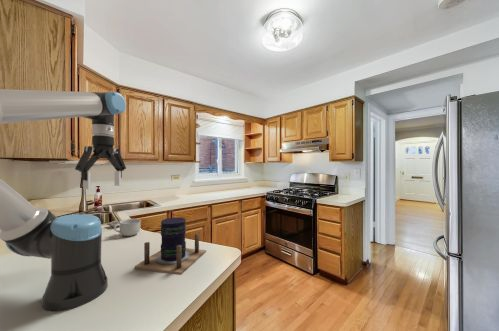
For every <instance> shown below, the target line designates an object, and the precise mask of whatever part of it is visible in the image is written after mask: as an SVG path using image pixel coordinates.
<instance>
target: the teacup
mask: <svg viewBox="0 0 499 331" xmlns="http://www.w3.org/2000/svg"><path fill="white" fill-rule="evenodd" d="M119 222H120V224H116V225H115V226H114V227H113V230H114V231H115V232H116V233H119V235H120V234H121V235H123V237H133V236H135V235H137V233H139V232H140V231H141V223H142V220H141V219H140V218H126V219H122V220H120V221H119ZM117 227H119V229H117Z"/></svg>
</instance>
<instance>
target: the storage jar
mask: <svg viewBox="0 0 499 331" xmlns="http://www.w3.org/2000/svg"><path fill="white" fill-rule="evenodd" d="M186 222H187V221H186V218H184V217H170V218H169V217H168V218H165V219H162V220H161V221H160V236H161V244H160V250H161V260H163V261H167V262H171V261H176V253H177V246H178V245H181V246H182V258H184V257H185V255H186V253H185V251H186V248H187V247H186V246H187V243H186V242H187V241H186V233H187V225H186Z"/></svg>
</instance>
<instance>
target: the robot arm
mask: <svg viewBox="0 0 499 331" xmlns="http://www.w3.org/2000/svg"><path fill="white" fill-rule="evenodd" d="M126 107H127V103H126V99H125V97H124V96H123V95H122V94H121V93H119V92H117V91H103V92H102V91H100V92H98V91H97V92H95V91H93V92H92V91H73V90H72V91H71V90H70V91H63V90H35V89H6V88H5V89H4V88H0V125H2V124H13V123H14V124H15V123H24V122H25V123H26V122H37V121H47V120H49V121H50V120H60V119H72V118H84V119H89V120H91V134H92V136H91V145H92V146H91V145H88V146H87V145H85V146H84V149H83V153H82V154H81V156H80V159H79V160H78V162H77V163H76V166H75V168H74V169H75V170H76V171H78V172H79V173H80V179H81V181H82V189H83V190H91V171H90V170H91V168H92V167H93V166H94V165H95V164H96V162H97V161H98V160H99V159H106V160H107V161H109V162H110V164H111V165H112V167H113V168H114V169H115V170H114V186H122V177H123V171H125V170H126V169H127V166H126V164H125V162H124V159H123V157H122V155H121V148H114V146H115V137H114V136H115V115H118V114H123V113H124V112H125V110H126V109H127V108H126ZM102 233H103V228H102V221H101V219H100V218H99V217H98V216H97V215H93V214H89V213H88V214H87V213H82V214H81V213H80V214H79V213H75V214H67V215H66V214H65V215H62V216H58V217H57V216H56V215H55V214H54V213H52V211H50V210H49V209H48V208H47V207H44V206H38V207H37V206H36V207H35V206H34V205H33V204H32V203H30V202H29V201H28V200H27V199H26V198H25V197H23V196H22V195H21V194H20V193H19V192H17V191H16V190H15V189H14V188H13V187H11V186H10V185H9V184H7V183H6V182H5V181H4V180H3V179H1V178H0V240H1V241H3V242H4V243H5V246H6V247H7V249H8V250H10V251H11V252H13V253H14V254H17V255H19V256H23V257H33V258H34V257H35V258H43V259H49V260H50V261H51V263H50V268H51V269H50V270H51V271H50V277H49V280H48V283H47V286H46V288H45V291H44V293H43V295H42V300H41V301H42V303H41V304H42V305H41V306H42V308H43V309H44V310H45V309H47V310H46V311H49V310H54V311H53V312H56V311H55V310H60V311H65V310H70V309H73V308H74V309H75V308H77V307H80V306H83V305H85V304H87V303H89V302H91V301H93V300H95V299H97V298H99V297H100V296H101V295H103V294H104V292H106V290H107V289H108V282H109V281H108V280H109V279H108V277H107V274H106V271H105V269H104V267H103V265H102Z"/></svg>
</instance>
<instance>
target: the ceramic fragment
mask: <svg viewBox="0 0 499 331" xmlns="http://www.w3.org/2000/svg"><path fill="white" fill-rule="evenodd" d="M116 224H120V221H115V222H108V223H106V226H110V227H112V228H114V226H115V225H116Z"/></svg>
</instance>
